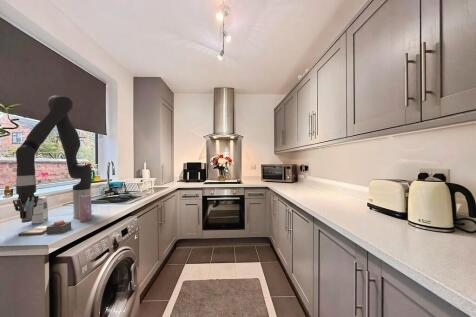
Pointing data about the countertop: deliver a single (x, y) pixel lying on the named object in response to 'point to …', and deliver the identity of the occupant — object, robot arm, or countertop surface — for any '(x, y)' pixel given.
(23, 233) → the drawing board
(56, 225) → the button
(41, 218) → the syrup box
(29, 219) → the green lidded grey container
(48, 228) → the button box
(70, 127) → the robot arm
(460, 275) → the countertop surface
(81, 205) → the tall pink box
